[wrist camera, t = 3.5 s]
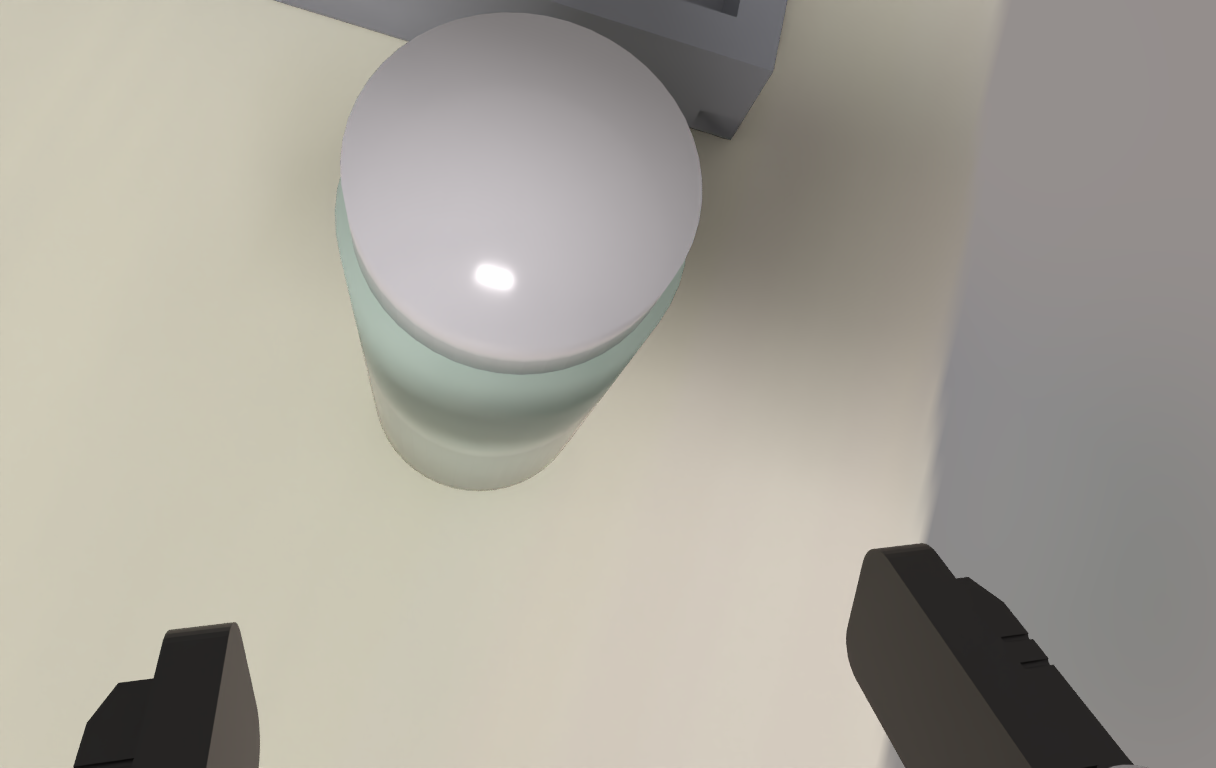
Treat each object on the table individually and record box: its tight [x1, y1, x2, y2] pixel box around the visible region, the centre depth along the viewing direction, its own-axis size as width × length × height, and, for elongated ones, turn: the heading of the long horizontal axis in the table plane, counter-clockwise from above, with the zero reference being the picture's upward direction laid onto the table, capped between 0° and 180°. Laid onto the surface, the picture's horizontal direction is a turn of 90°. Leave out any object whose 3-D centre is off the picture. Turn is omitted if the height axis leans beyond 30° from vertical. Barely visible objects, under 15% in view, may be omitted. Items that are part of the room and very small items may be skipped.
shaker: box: [335, 12, 702, 491], centre depth 18 cm, size 5×5×12 cm
